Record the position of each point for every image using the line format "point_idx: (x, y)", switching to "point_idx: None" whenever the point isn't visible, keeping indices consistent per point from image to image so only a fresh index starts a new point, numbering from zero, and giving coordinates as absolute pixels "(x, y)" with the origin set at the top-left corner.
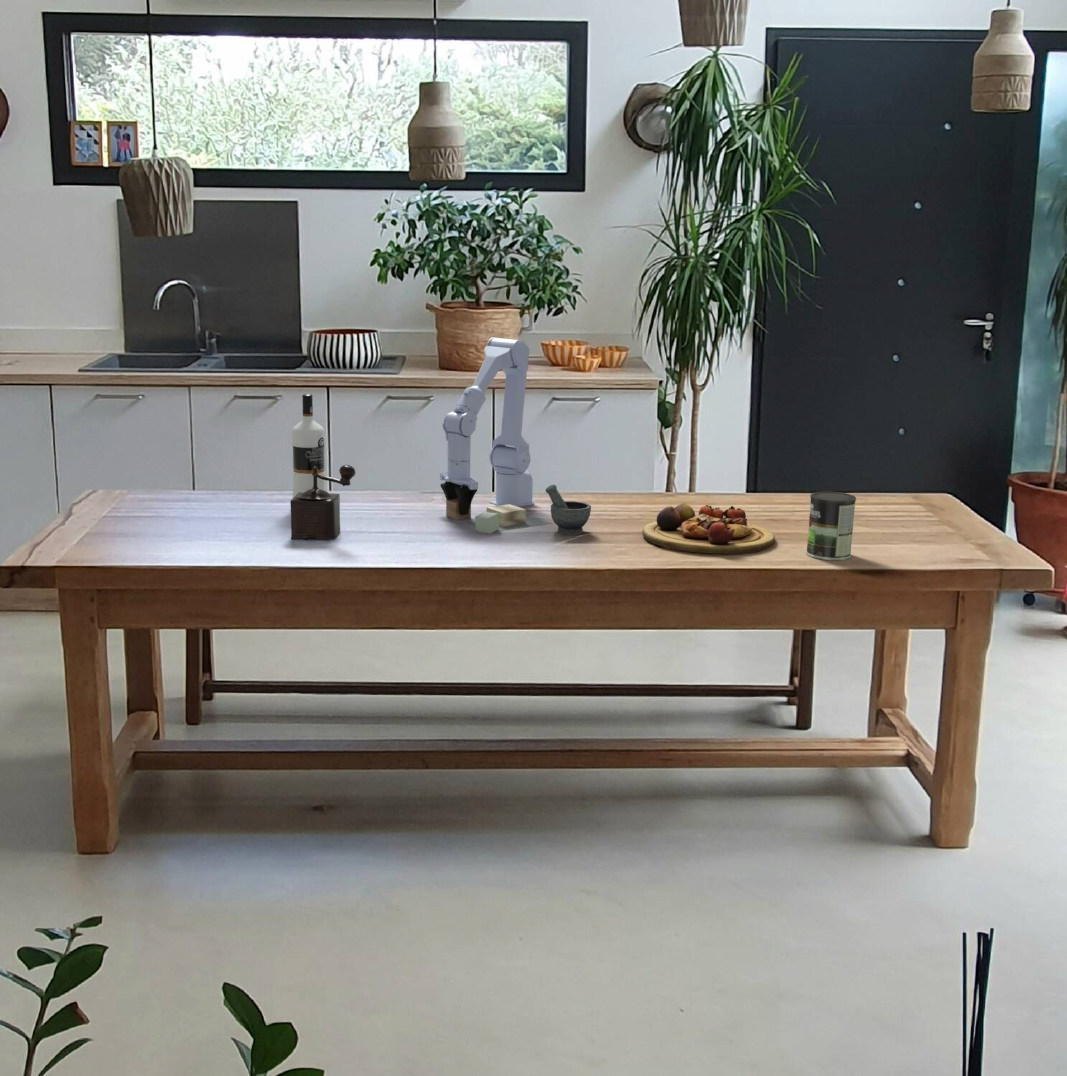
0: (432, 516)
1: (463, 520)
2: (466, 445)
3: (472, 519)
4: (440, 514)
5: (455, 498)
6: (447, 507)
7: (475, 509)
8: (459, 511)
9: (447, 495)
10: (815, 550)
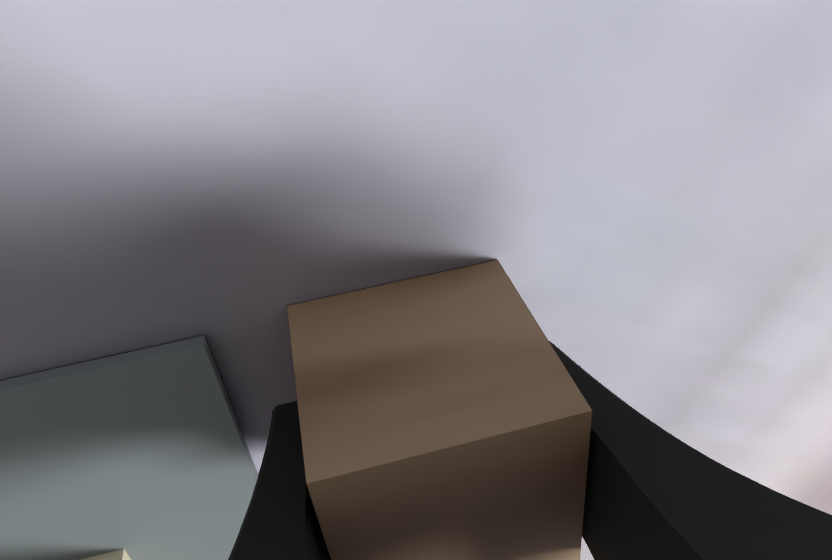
0: (624, 128)
1: (211, 375)
2: None
3: (233, 458)
4: (647, 245)
5: (590, 519)
6: (517, 345)
7: None
8: None
9: (634, 482)
10: None
